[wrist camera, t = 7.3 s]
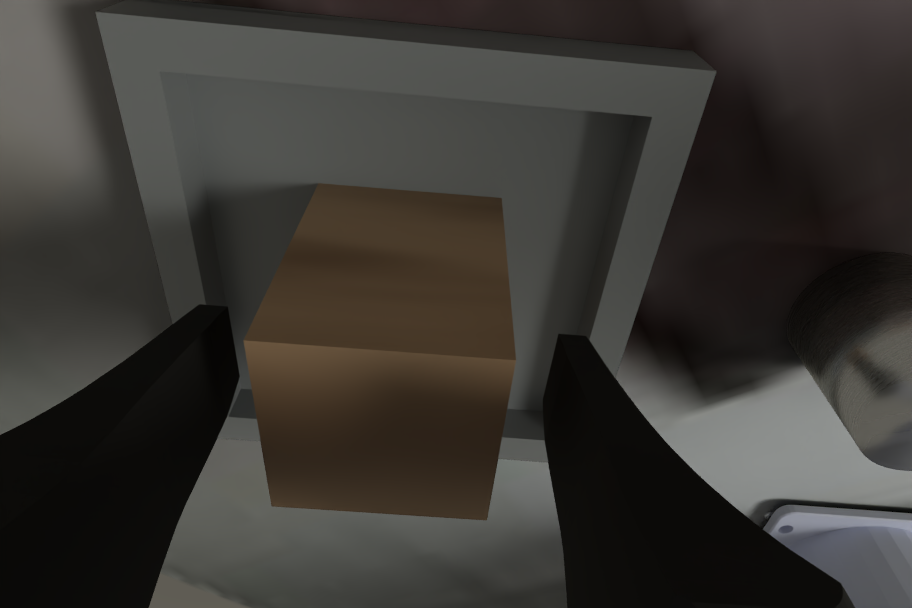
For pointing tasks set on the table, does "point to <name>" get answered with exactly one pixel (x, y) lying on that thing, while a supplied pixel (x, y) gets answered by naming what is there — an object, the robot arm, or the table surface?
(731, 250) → the table surface
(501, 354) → the walnut block
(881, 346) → the grey metal cylinder
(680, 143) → the tray
